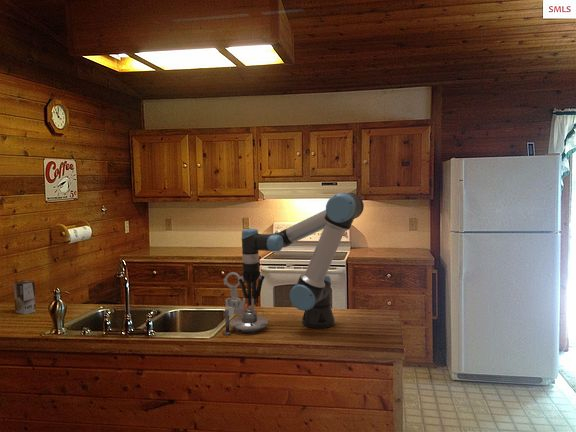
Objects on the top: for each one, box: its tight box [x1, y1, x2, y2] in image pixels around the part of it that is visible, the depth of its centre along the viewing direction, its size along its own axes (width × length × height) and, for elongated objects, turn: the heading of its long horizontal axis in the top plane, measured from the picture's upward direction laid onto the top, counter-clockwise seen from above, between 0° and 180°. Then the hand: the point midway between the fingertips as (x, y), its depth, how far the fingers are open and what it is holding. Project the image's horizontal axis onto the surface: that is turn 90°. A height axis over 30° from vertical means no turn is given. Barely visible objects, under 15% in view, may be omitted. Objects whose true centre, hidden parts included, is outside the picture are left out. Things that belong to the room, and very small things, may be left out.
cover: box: [241, 308, 258, 323], centre depth 213 cm, size 7×7×5 cm
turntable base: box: [235, 328, 263, 335], centre depth 213 cm, size 12×12×2 cm
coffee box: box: [13, 280, 37, 315], centre depth 249 cm, size 9×6×16 cm
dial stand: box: [222, 306, 235, 336], centre depth 207 cm, size 4×4×12 cm
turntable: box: [229, 303, 269, 330], centre depth 213 cm, size 17×17×8 cm
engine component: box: [223, 271, 246, 315], centre depth 244 cm, size 11×20×10 cm
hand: (252, 311), depth 222 cm, fingers closed
